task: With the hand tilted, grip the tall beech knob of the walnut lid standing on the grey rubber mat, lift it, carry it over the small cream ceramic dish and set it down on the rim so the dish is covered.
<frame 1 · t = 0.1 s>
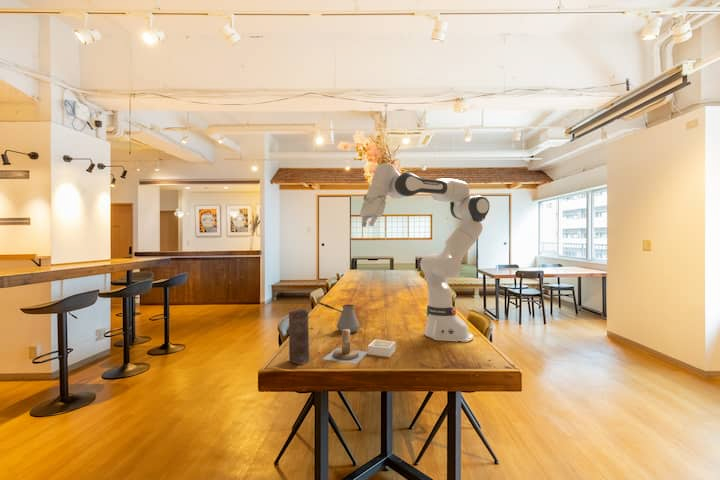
hand: (367, 226, 153), 52 cm above the table, tool tilted 20°, fingers open, 8 cm apart
dish: (382, 353, 139), on the table
candle: (299, 363, 129), on the table
mat: (346, 356, 135), on the table
lid: (346, 355, 135), point 1 cm above the table, touching mat
coffee pot: (338, 331, 171), on the table
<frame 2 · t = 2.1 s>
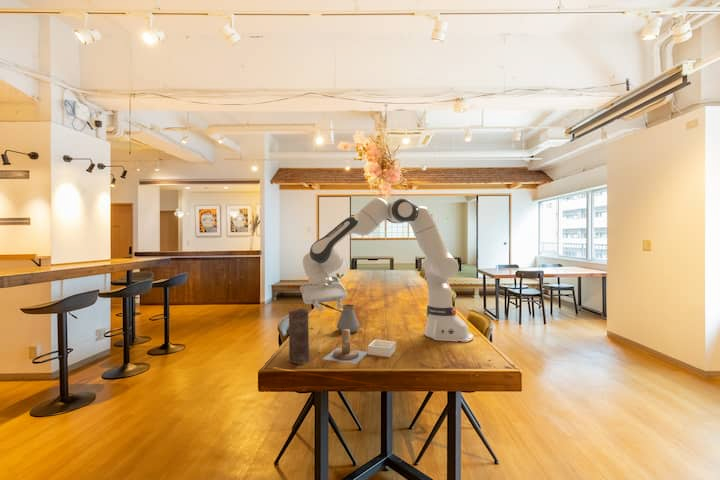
hand: (330, 309, 145), 17 cm above the table, tool tilted 45°, fingers open, 8 cm apart
nothing on the table moved.
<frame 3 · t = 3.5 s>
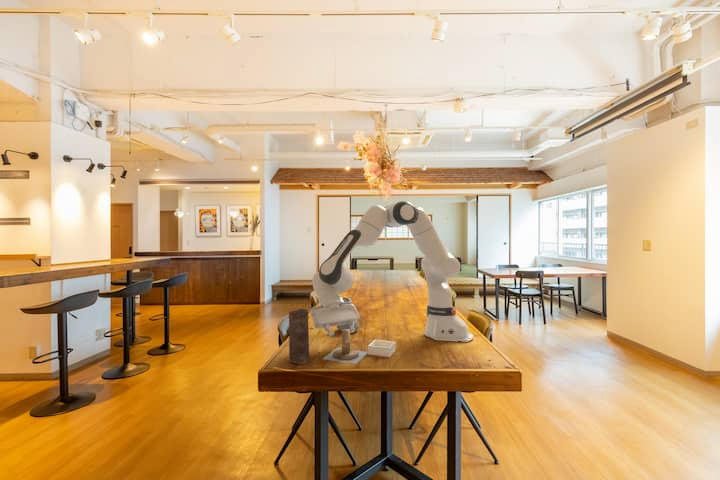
hand: (342, 333, 137), 9 cm above the table, tool tilted 45°, fingers open, 8 cm apart
nothing on the table moved.
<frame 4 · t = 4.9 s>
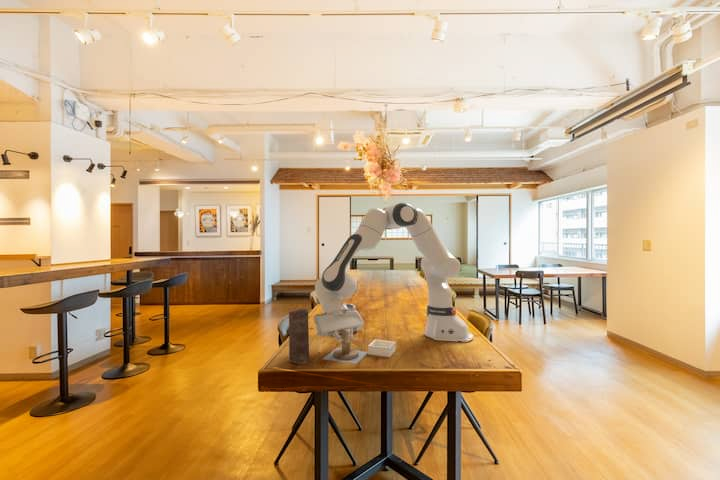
hand: (346, 341, 135), 6 cm above the table, tool tilted 45°, fingers closed on lid, 3 cm apart
lid: (346, 355, 135), point 1 cm above the table, touching gripper, mat
everything else where it was.
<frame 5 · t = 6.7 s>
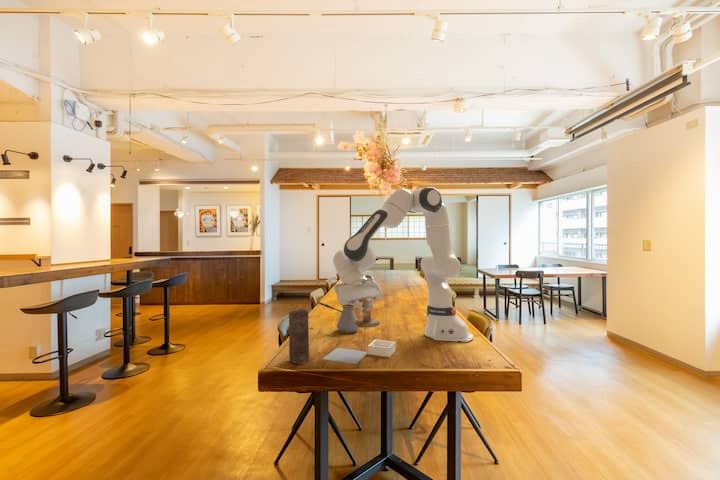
hand: (367, 309, 137), 18 cm above the table, tool tilted 45°, fingers closed on lid, 3 cm apart
lid: (367, 324, 137), point 12 cm above the table, touching gripper
everything else where it was.
when the fingers open (11 cm above the table, at t = 8.9 s): lid drops 1 cm, resting on dish.
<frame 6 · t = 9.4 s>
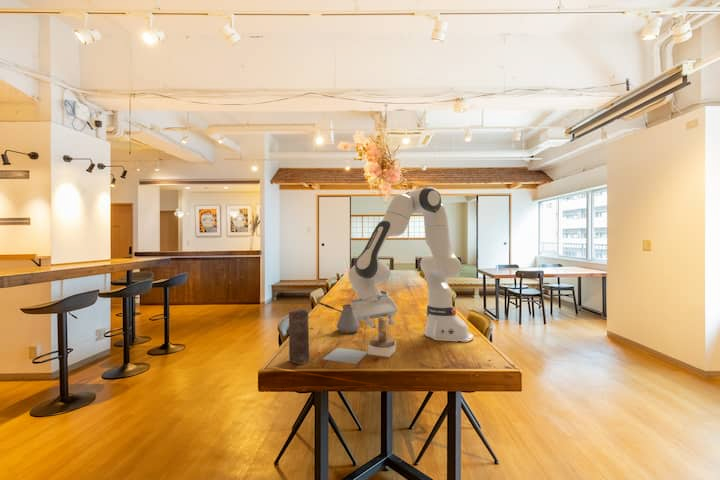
hand: (383, 325, 139), 11 cm above the table, tool tilted 45°, fingers open, 8 cm apart
lid: (382, 343, 139), point 4 cm above the table, touching dish
everything else where it was.
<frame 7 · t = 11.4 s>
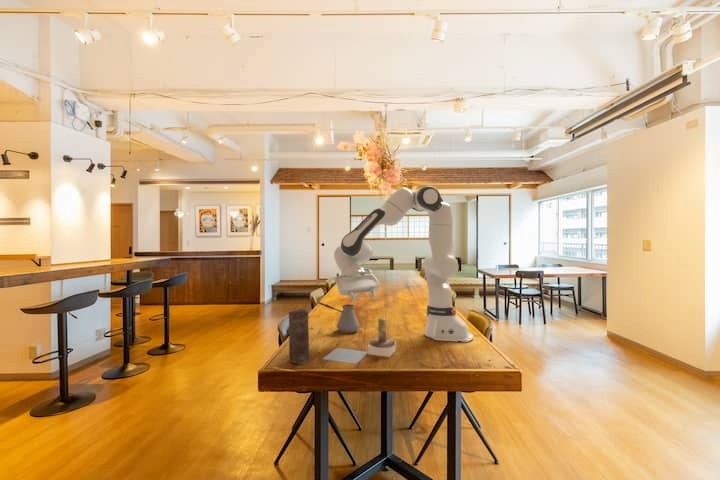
hand: (365, 299, 151), 20 cm above the table, tool tilted 45°, fingers open, 8 cm apart
nothing on the table moved.
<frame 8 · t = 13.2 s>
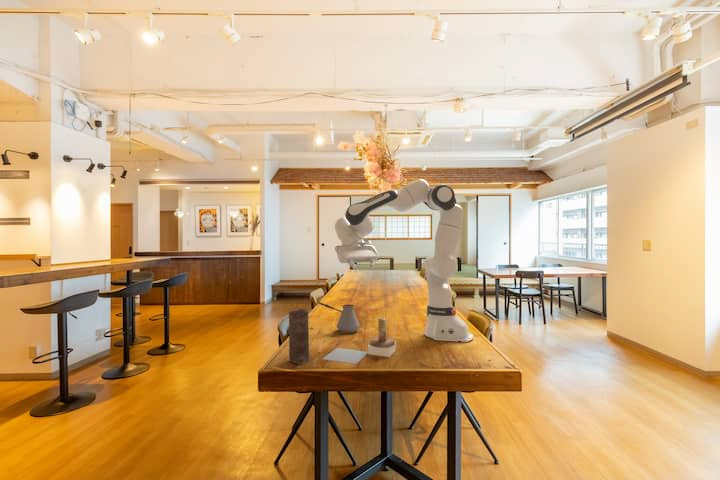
hand: (364, 268, 153), 33 cm above the table, tool tilted 45°, fingers open, 8 cm apart
nothing on the table moved.
at the end: lid 0.1 cm from the dish (horizontally); lid 0.1 cm off-centre on the dish, point 4.0 cm above the dish's base; lid tilted 0° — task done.
